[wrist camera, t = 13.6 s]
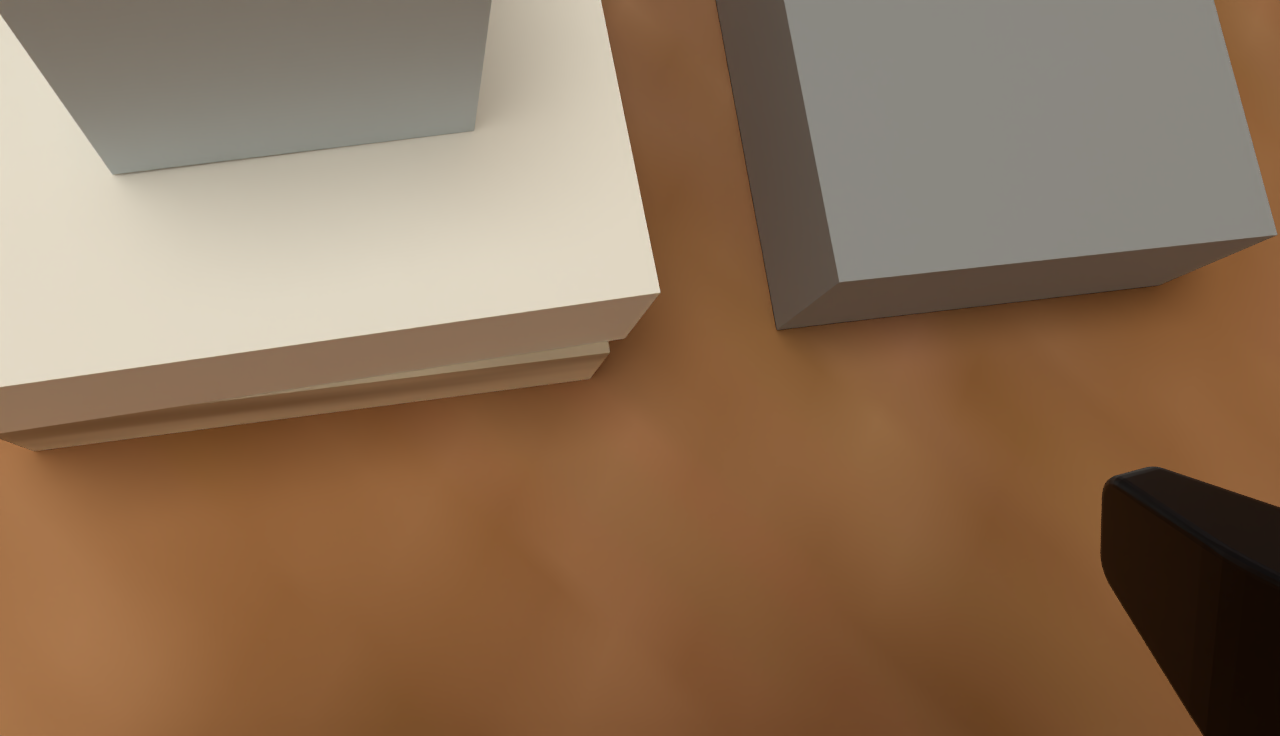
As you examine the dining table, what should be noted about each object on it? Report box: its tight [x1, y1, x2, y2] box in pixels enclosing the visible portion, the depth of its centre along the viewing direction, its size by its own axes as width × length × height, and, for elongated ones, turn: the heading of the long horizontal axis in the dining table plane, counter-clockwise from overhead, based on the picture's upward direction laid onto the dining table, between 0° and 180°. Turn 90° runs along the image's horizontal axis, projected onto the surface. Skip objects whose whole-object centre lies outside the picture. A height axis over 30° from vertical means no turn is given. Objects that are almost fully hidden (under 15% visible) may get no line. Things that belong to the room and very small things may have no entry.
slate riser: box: [716, 0, 1277, 330], centre depth 22 cm, size 9×9×4 cm
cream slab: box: [0, 0, 660, 433], centre depth 17 cm, size 10×10×3 cm
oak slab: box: [0, 341, 610, 451], centre depth 20 cm, size 10×10×3 cm
